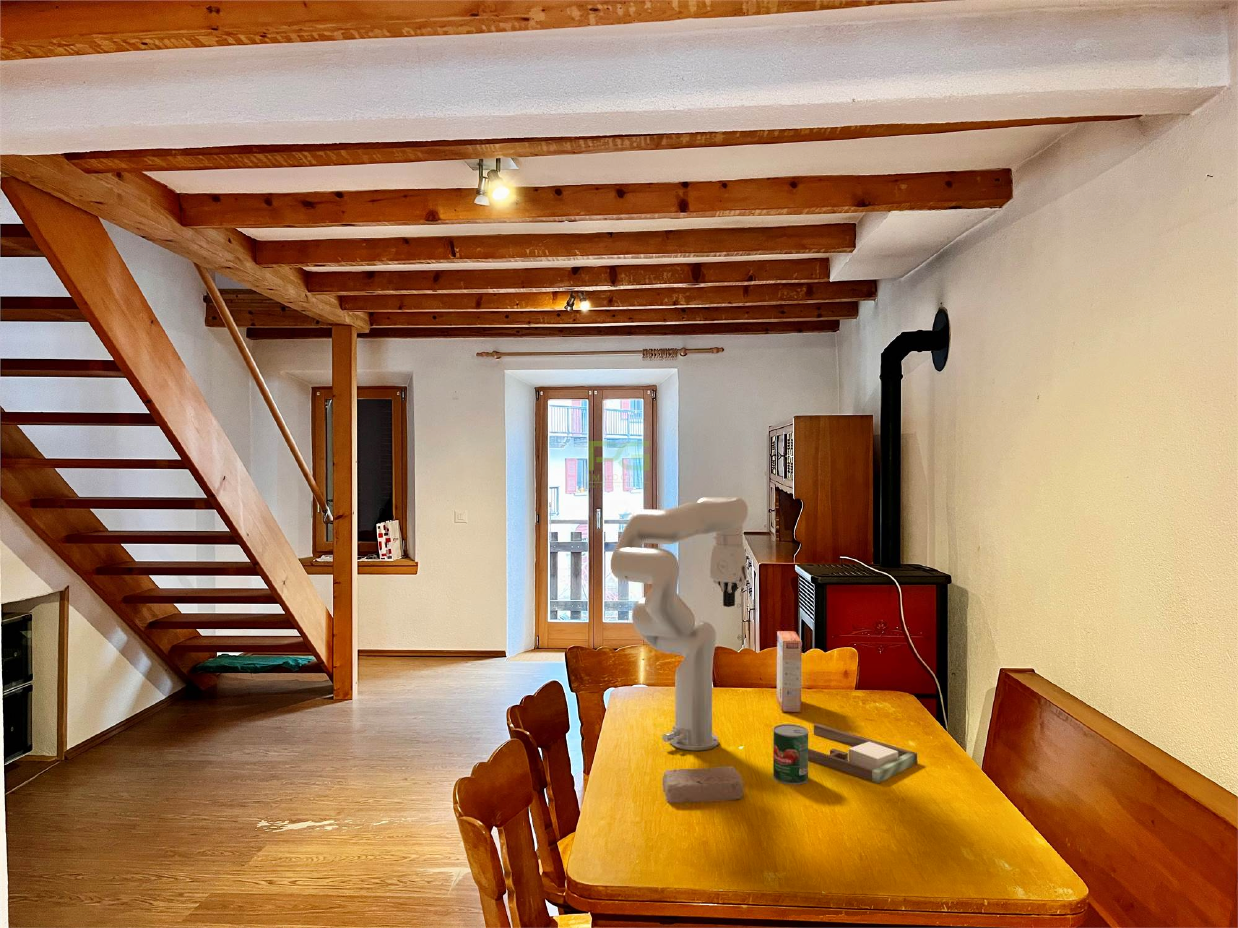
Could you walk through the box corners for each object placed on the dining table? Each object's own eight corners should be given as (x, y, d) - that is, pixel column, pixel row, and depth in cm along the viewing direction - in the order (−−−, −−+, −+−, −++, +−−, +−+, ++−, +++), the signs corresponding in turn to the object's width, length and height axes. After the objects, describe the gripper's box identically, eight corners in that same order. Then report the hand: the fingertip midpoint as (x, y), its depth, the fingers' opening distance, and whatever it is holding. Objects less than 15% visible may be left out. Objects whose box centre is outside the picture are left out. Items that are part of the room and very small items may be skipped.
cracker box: (802, 713, 220) (802, 640, 220) (781, 712, 220) (781, 640, 221) (796, 698, 234) (796, 630, 234) (776, 698, 234) (776, 630, 235)
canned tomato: (770, 781, 172) (770, 733, 172) (775, 768, 179) (775, 722, 179) (806, 787, 169) (806, 737, 169) (810, 773, 176) (810, 726, 176)
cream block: (877, 776, 176) (877, 758, 176) (848, 765, 182) (848, 748, 182) (898, 768, 180) (898, 751, 180) (869, 757, 187) (869, 741, 187)
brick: (667, 804, 160) (667, 782, 160) (661, 788, 169) (661, 766, 169) (744, 802, 162) (744, 780, 162) (734, 785, 170) (734, 764, 170)
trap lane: (878, 783, 171) (878, 772, 171) (776, 749, 192) (775, 739, 192) (917, 762, 183) (917, 752, 183) (816, 732, 204) (816, 723, 204)
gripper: (700, 539, 217) (700, 604, 217) (741, 543, 206) (741, 611, 205) (717, 538, 222) (717, 601, 222) (758, 541, 211) (758, 608, 210)
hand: (729, 605), depth 214 cm, fingers closed
